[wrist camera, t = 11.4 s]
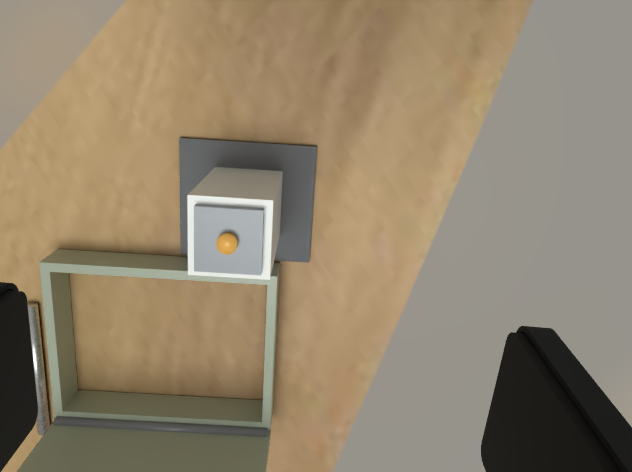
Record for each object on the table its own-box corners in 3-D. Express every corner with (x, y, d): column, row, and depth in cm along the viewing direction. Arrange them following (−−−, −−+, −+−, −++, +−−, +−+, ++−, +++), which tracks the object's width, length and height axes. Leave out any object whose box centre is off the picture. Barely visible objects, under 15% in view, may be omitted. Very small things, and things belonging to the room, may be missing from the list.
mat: (180, 137, 40) (179, 138, 40) (316, 146, 40) (316, 146, 40) (182, 252, 43) (180, 254, 42) (309, 260, 43) (309, 262, 42)
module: (215, 166, 40) (182, 199, 30) (282, 171, 40) (271, 205, 31) (214, 231, 42) (183, 282, 32) (279, 235, 42) (268, 287, 32)
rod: (27, 301, 44) (21, 306, 43) (40, 302, 44) (34, 307, 43) (41, 427, 48) (35, 434, 47) (52, 427, 48) (47, 435, 47)
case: (57, 249, 43) (-67, 338, 29) (279, 262, 43) (262, 357, 29) (71, 410, 47) (-31, 555, 33) (272, 422, 47) (254, 570, 34)
